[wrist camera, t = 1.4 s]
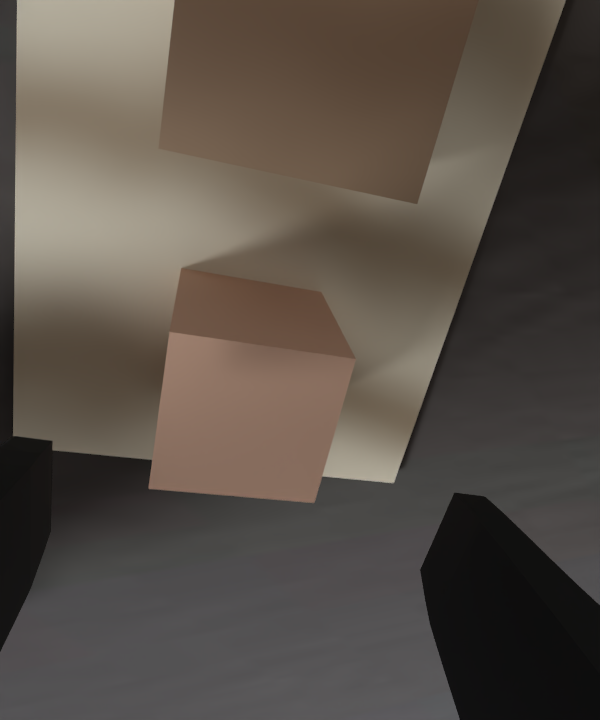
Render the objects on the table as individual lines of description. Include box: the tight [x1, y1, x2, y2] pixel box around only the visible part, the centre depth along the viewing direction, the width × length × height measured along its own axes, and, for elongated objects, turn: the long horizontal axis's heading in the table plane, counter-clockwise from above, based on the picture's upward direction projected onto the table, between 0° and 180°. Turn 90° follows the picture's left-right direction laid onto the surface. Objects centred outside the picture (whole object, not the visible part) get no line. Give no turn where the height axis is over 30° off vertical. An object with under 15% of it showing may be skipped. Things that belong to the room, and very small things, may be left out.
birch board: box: [13, 0, 566, 483], centre depth 17 cm, size 20×14×1 cm
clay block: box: [148, 268, 356, 503], centre depth 16 cm, size 4×4×5 cm
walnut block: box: [158, 0, 479, 204], centre depth 13 cm, size 6×6×4 cm
